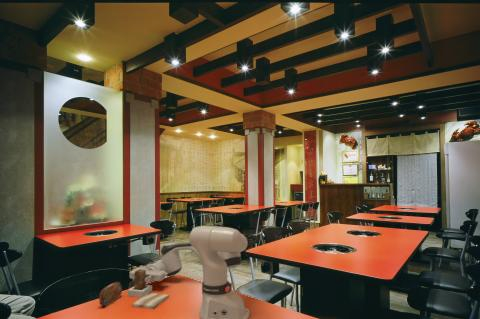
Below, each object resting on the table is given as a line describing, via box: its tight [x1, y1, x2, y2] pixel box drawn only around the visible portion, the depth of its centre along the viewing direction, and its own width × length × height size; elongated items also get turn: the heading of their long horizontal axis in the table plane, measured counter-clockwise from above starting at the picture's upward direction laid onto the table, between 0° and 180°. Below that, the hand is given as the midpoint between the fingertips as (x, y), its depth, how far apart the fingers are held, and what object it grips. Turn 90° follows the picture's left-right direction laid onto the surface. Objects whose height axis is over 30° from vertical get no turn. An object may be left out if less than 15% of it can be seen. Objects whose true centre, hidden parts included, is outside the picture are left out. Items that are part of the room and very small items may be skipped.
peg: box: [134, 269, 147, 290], centre depth 153 cm, size 4×4×12 cm
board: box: [131, 292, 170, 310], centre depth 142 cm, size 12×14×1 cm
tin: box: [98, 281, 123, 307], centre depth 143 cm, size 15×3×8 cm, turn 168°
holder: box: [127, 284, 153, 298], centre depth 153 cm, size 9×9×3 cm
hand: (139, 279), depth 153 cm, fingers open, 5 cm apart
